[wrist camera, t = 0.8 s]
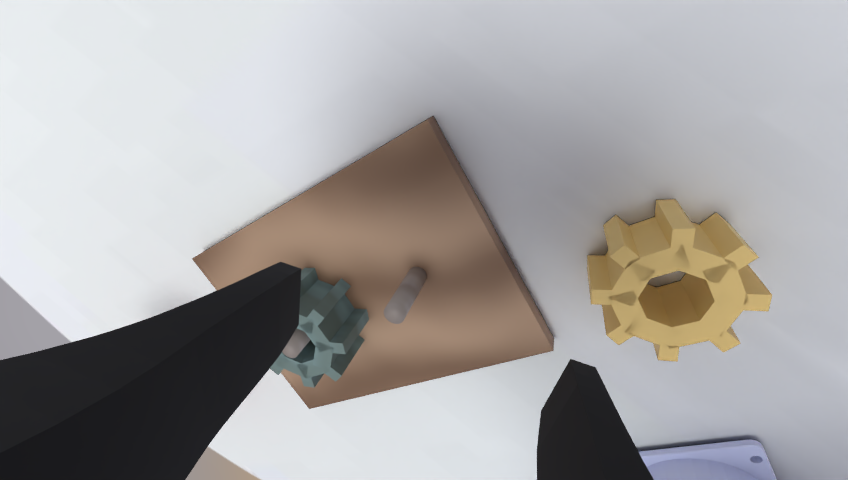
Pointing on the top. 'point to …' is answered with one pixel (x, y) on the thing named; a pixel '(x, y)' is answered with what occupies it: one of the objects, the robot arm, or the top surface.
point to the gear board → (389, 275)
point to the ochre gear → (681, 301)
